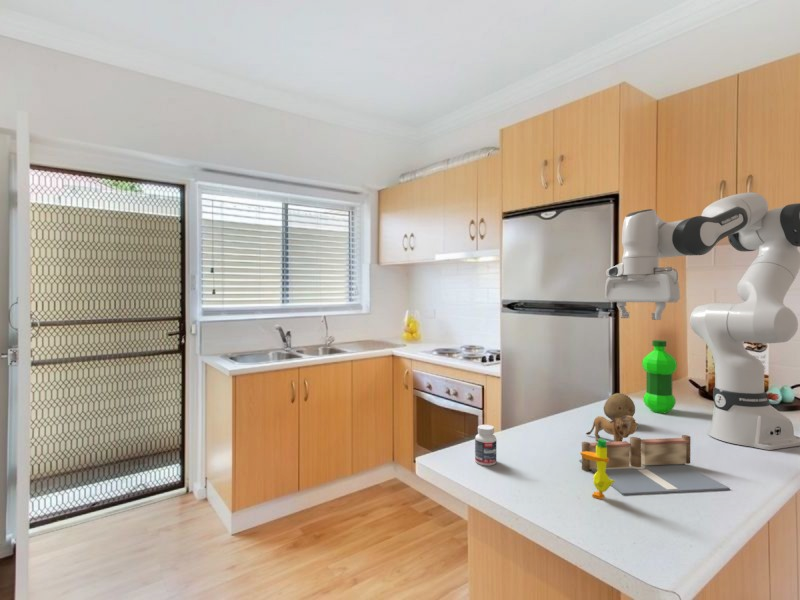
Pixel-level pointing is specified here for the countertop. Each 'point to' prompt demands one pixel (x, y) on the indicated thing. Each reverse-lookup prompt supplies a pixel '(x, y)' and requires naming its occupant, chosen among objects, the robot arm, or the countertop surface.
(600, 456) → the toy figure
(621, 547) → the countertop surface
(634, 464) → the fence section
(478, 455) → the pill bottle
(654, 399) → the plastic bottle
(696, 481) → the board
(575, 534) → the countertop surface
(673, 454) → the fence panel
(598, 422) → the lion figurine
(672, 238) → the robot arm
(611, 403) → the natural sponge
